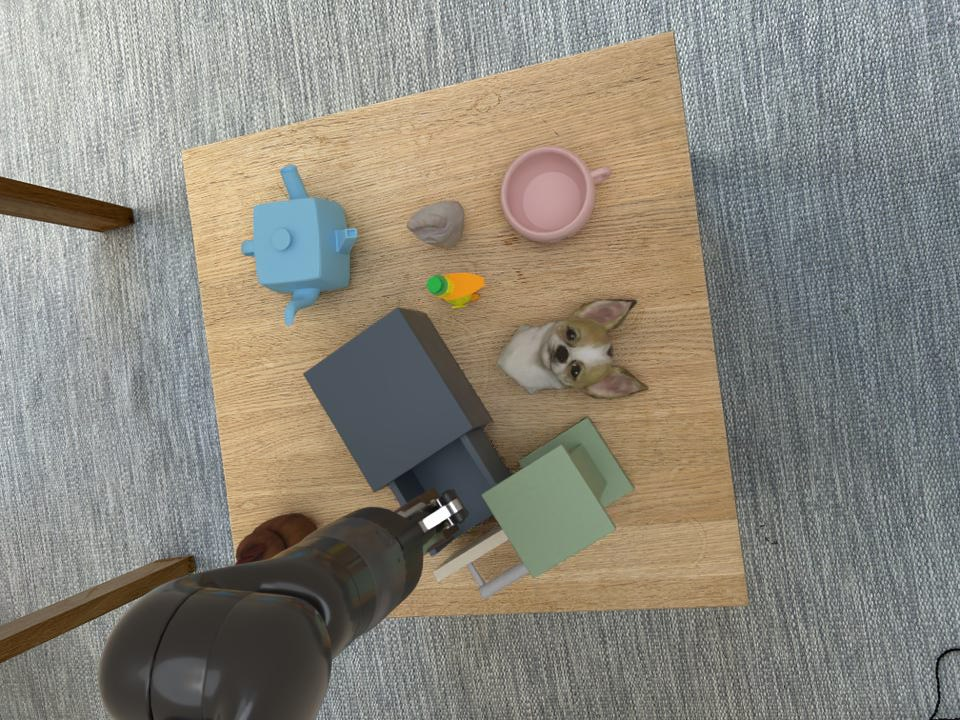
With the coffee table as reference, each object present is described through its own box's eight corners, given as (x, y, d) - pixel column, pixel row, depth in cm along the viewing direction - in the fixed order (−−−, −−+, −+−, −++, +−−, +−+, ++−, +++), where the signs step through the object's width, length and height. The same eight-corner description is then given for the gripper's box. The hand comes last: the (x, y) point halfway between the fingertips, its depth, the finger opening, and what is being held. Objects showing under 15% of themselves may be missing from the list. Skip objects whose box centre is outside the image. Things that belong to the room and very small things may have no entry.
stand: (634, 487, 82) (625, 532, 61) (564, 529, 84) (531, 587, 63) (588, 416, 83) (563, 435, 62) (520, 459, 85) (472, 492, 64)
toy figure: (499, 273, 86) (473, 259, 74) (503, 305, 86) (478, 296, 74) (441, 282, 87) (407, 270, 76) (445, 313, 87) (412, 306, 76)
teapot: (267, 184, 92) (220, 163, 82) (377, 169, 89) (342, 145, 79) (277, 333, 92) (231, 330, 82) (388, 324, 89) (353, 319, 79)
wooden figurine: (318, 502, 91) (252, 529, 76) (332, 549, 90) (269, 585, 76) (268, 517, 92) (195, 546, 78) (282, 564, 92) (210, 602, 77)
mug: (525, 261, 85) (515, 254, 79) (496, 178, 86) (484, 165, 80) (629, 220, 82) (627, 210, 77) (598, 135, 83) (593, 119, 77)
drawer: (563, 545, 83) (554, 564, 76) (478, 596, 85) (460, 619, 78) (476, 406, 85) (458, 411, 78) (395, 460, 88) (370, 469, 80)
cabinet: (493, 420, 86) (473, 428, 77) (404, 478, 88) (373, 492, 79) (425, 312, 88) (397, 306, 78) (339, 372, 90) (302, 373, 81)
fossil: (466, 205, 87) (441, 185, 77) (483, 230, 86) (460, 213, 76) (425, 235, 88) (395, 219, 78) (441, 260, 87) (413, 247, 78)
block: (460, 529, 69) (446, 541, 65) (420, 554, 70) (404, 567, 66) (434, 486, 70) (419, 495, 65) (395, 511, 71) (377, 522, 66)
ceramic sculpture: (486, 310, 77) (638, 289, 74) (499, 314, 85) (635, 296, 83) (500, 415, 77) (652, 398, 74) (511, 409, 85) (648, 394, 83)
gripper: (300, 669, 54) (386, 595, 71) (465, 568, 51) (514, 517, 68) (248, 575, 55) (344, 525, 71) (407, 472, 52) (469, 444, 69)
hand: (426, 521), depth 70 cm, fingers closed on block, 4 cm apart
